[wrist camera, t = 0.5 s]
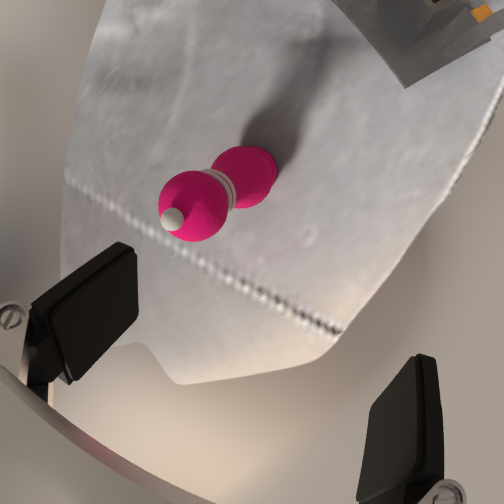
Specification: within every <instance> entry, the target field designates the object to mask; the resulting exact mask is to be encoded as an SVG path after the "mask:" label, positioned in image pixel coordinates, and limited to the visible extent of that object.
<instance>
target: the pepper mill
mask: <svg viewBox="0 0 504 504" xmlns="http://www.w3.org/2000/svg"><path fill="white" fill-rule="evenodd" d="M276 177H277V166H276V163H275V160H274V159H273V157H272V156H271V155H270V154H269V153H268V152H267V151H266V150H264V149H262V148H259V147H253V146H251V147H245V146H238V147H233V148H231V149H228V150H227V151H225V152H223V153H222V154H221V155H219V156H218V158H217V159H216V160H215V161H214V163H213V164H212V166H211V169H205V170H201V171H186V172H183V173H180V174H178V175H176V176H174V177H173V178H172V179H170V180H169V181H168V182H167V183H166V185H165V186H164V187H163V189H162V191H161V193H160V196H159V202H158V210H159V215H160V218H161V224H162V226H163V227H164V228H165V229H166V230H168V231H169V232H170V233H171V234H172V235H173V236H175V237H177V238H179V239H181V240H184V241H190V242H196V241H202V240H205V239H208V238H210V237H211V236H213V235H214V234H216V233H217V232H218V231H219V230H220V229H221V228H222V226H223V224H224V223H225V221H226V218H227V216H228V215H230V213H231V212H232V211H233V209H234V208H248V207H252V206H254V205H256V204H258V203H259V202H261V201H262V200H263V199H264V198H265V197H266V196H267V195H268V193H269V192H270V189H271V187H272V186H273V184H274V182H275V180H276Z"/></svg>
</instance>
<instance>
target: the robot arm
mask: <svg viewBox="0 0 504 504" xmlns="http://www.w3.org/2000/svg"><path fill="white" fill-rule="evenodd" d="M31 305H32V308H31V309H30V310H28V308H27V306H26V305H25V304H24V303H21V302H19V301H9V302H6V303H3V304H1V305H0V504H216V503H213V502H210V501H208V500H205V499H203V498H201V497H199V496H196V495H194V494H192V493H190V492H187V491H185V490H183V489H181V488H179V487H177V486H174V485H172V484H170V483H168V482H166V481H164V480H162V479H160V478H158V477H157V476H154V475H153V474H151V473H149V472H147V471H145V470H143V469H142V468H140V467H138V466H136V465H135V464H133V463H131V462H130V461H128V460H126V459H124V458H123V457H121V456H120V455H118V454H116V453H115V452H113V451H111V450H110V449H108V448H107V447H105V446H104V445H102V444H101V443H99V442H98V441H96V440H95V439H93V438H92V437H90V436H89V435H87V434H86V433H85V432H83V431H82V430H80V429H79V428H78V427H76V426H75V425H74V424H72V423H71V422H70V421H68V420H67V419H66V418H64V417H63V416H62V415H60V414H59V413H58V412H57V411H56V410H54V409H53V382H54V380H55V379H56V378H57V377H59V378H60V379H61V380H62V381H64V382H65V383H66V384H68V385H70V384H71V383H72V382H73V381H74V380H75V381H77V380H79V379H80V378H81V377H82V376H83V375H84V374H85V373H86V372H87V371H88V370H89V369H90V368H91V367H92V365H93V364H94V363H95V362H96V361H97V360H98V359H99V358H100V357H101V356H102V355H103V354H104V353H105V352H106V351H107V350H108V349H109V348H110V346H111V345H112V344H113V343H114V342H115V341H116V340H117V339H118V338H119V337H120V336H121V335H122V334H123V333H124V332H125V331H126V330H127V329H128V328H129V327H130V326H131V325H132V324H133V323H134V322H135V320H136V319H137V317H138V313H139V307H138V279H137V255H136V253H135V252H134V249H133V248H132V247H131V246H128V245H126V244H124V243H121V242H116V243H114V244H113V245H111V246H110V247H108V248H107V249H105V250H104V251H103V252H101V253H100V254H98V255H97V256H95V257H94V258H92V259H91V260H90V261H88V262H87V263H85V264H84V265H82V266H81V267H80V268H78V269H77V270H75V271H74V272H73V273H71V274H70V275H68V276H67V277H66V278H64V279H63V280H62V281H60V282H59V283H58V284H56V285H55V286H53V287H52V288H51V289H49V290H48V291H47V292H45V293H44V294H43V295H42V296H40V297H39V298H38V299H36V300H35V301H34V302H32V303H31ZM443 433H444V432H443V415H442V407H441V400H440V390H439V381H438V372H437V365H436V360H435V358H433V357H430V356H426V355H423V354H417V355H416V356H415V357H414V356H412V357H410V358H409V360H408V361H407V362H406V364H405V365H404V366H403V368H402V369H401V370H400V371H399V373H398V374H397V375H396V376H395V378H394V379H393V380H392V382H391V383H390V384H389V385H388V386H387V388H386V389H385V390H384V391H383V392H382V394H381V395H380V396H379V397H378V398H377V400H376V401H375V402H374V403H373V405H372V406H371V409H370V412H369V420H368V428H367V435H366V442H365V449H364V456H363V462H362V468H361V473H360V479H359V484H358V489H357V494H356V501H358V502H359V504H466V494H465V491H464V489H463V487H462V486H461V484H459V483H458V482H457V481H455V480H452V479H444V434H443Z"/></svg>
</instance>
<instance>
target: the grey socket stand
mask: <svg viewBox="0 0 504 504" xmlns="http://www.w3.org/2000/svg"><path fill="white" fill-rule="evenodd" d="M332 1H333V2H334V3H335V4H336V6H337V7H338V8H339V9H340V10H341V11H342V12H343V13H344V14H345V15H346V16H347V17H348V18H349V19H350V20H351V21H352V23H353V24H354V25H355V26H356V27H357V28H358V29H359V30H360V32H361V33H362V34H363V35H364V36H365V37H366V39H367V40H368V41H369V42H370V43H371V45H372V46H373V47H374V48H375V50H376V51H377V52H378V53H379V55H380V56H381V57H382V58H383V60H384V61H385V62H386V64H387V65H388V66H389V68H390V69H391V70H392V72H393V73H394V74H395V76H396V77H397V78H398V80H399V81H400V83H401V84H402V85H403V87H404V88H405V89H406V88H407V87H409V86H411V85H412V84H414V83H416V82H418V81H419V80H421V79H423V78H424V77H426V76H428V75H429V74H431V73H433V72H435V71H436V70H438V69H440V68H442V67H443V66H445V65H447V64H449V63H450V62H452V61H454V60H456V59H458V58H459V57H461V56H463V55H465V54H467V53H468V52H470V51H472V50H474V49H476V48H478V47H480V46H481V45H483V44H485V43H487V42H489V41H491V39H490V36H491V35H493V34H495V33H497V32H499V31H501V30H503V29H504V8H503V9H501V10H499V11H497V12H495V13H492V11H491V10H490V8H489V7H488V6H487V4H484V5H482V6H480V7H478V8H475V9H473V10H472V11H470V10H469V8H468V7H467V5H468V4H469V3H470V2H471V1H472V0H440V1H438V2H436V3H433V2H432V0H332Z"/></svg>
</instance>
